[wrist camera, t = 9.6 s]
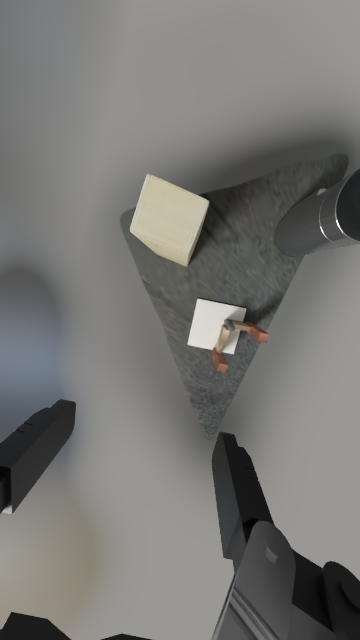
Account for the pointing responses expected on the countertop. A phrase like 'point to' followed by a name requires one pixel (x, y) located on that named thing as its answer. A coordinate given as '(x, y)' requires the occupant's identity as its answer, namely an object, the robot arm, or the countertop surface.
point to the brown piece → (249, 330)
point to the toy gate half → (220, 351)
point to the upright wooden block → (169, 219)
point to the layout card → (214, 324)
